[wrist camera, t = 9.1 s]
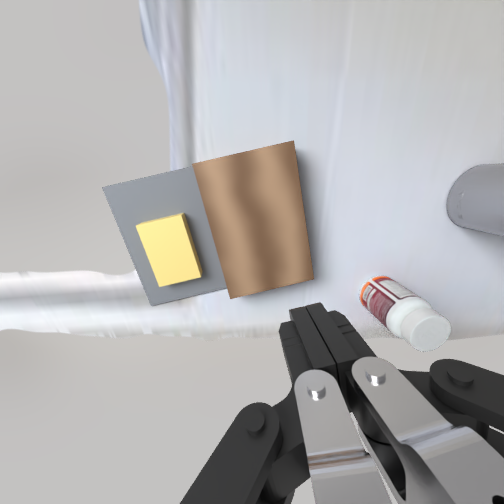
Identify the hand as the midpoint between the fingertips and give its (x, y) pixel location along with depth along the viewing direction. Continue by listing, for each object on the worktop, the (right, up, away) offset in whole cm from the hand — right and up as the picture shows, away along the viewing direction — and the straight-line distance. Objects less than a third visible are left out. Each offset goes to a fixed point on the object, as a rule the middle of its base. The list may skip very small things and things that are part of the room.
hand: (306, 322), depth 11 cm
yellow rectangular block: (-14, +3, +20) cm, 25 cm away
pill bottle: (+18, -3, +28) cm, 33 cm away
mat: (-14, +5, +22) cm, 27 cm away
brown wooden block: (-2, +8, +22) cm, 24 cm away
